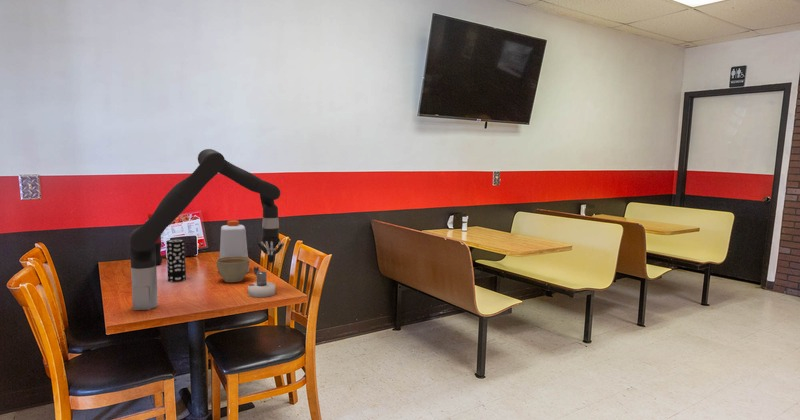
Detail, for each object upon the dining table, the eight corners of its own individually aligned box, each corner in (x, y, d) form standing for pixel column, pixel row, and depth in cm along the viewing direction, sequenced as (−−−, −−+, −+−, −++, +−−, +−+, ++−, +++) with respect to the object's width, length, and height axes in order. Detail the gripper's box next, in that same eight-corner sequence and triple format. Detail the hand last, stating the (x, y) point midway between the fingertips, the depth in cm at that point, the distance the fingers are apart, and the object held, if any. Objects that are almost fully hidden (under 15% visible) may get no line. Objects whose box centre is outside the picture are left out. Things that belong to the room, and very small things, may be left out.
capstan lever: (267, 285, 218) (267, 273, 217) (257, 286, 216) (257, 274, 215) (260, 278, 230) (260, 266, 230) (251, 279, 228) (251, 267, 228)
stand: (273, 297, 214) (273, 287, 214) (246, 297, 212) (246, 287, 212) (276, 289, 226) (276, 280, 226) (250, 290, 224) (250, 280, 224)
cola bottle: (146, 264, 271) (143, 212, 268) (162, 262, 275) (160, 211, 272) (145, 267, 264) (142, 213, 260) (162, 266, 267) (160, 213, 264)
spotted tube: (178, 282, 235) (177, 242, 232) (164, 281, 236) (162, 241, 234) (189, 278, 243) (188, 239, 241) (175, 277, 244) (173, 239, 242)
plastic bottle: (249, 274, 254) (248, 222, 251) (219, 276, 248) (218, 223, 245) (247, 267, 268) (246, 218, 265) (218, 269, 262) (217, 219, 259)
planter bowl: (215, 285, 231) (214, 263, 230) (218, 277, 247) (217, 256, 245) (249, 283, 235) (249, 262, 234) (250, 275, 251) (250, 255, 250)
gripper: (287, 226, 229) (287, 261, 231) (261, 225, 231) (261, 260, 233) (280, 228, 221) (281, 264, 223) (254, 227, 223) (254, 263, 225)
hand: (271, 262), depth 228 cm, fingers closed
